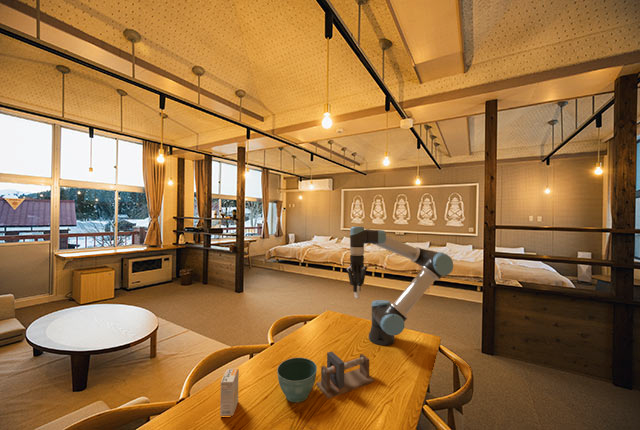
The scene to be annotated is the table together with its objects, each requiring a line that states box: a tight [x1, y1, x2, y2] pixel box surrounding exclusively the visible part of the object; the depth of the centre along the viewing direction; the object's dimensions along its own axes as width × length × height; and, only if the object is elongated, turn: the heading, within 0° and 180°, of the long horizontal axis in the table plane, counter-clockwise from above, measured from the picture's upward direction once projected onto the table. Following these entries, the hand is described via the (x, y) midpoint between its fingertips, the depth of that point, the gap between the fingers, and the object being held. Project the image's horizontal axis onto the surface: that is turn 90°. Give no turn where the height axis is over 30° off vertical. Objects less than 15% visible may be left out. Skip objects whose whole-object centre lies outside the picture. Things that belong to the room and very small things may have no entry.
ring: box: [326, 351, 345, 389], centre depth 108 cm, size 2×10×10 cm, turn 28°
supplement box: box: [219, 368, 240, 417], centre depth 95 cm, size 8×5×13 cm, turn 5°
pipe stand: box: [316, 353, 376, 400], centre depth 111 cm, size 24×10×9 cm, turn 118°
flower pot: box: [276, 357, 318, 404], centre depth 103 cm, size 16×16×11 cm
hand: (356, 297), depth 137 cm, fingers closed
